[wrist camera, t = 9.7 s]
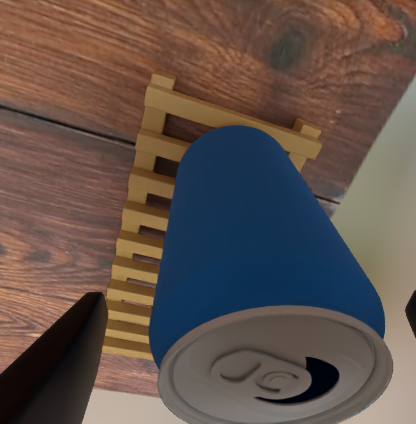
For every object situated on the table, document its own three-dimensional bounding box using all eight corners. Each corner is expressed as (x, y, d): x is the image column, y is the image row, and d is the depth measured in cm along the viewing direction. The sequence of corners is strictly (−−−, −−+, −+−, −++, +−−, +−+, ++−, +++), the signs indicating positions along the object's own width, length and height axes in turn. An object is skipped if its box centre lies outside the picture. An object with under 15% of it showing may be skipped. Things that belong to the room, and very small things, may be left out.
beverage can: (247, 235, 20) (294, 459, 9) (159, 194, 18) (101, 414, 8) (310, 156, 17) (477, 358, 6) (212, 97, 15) (231, 248, 5)
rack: (155, 69, 16) (148, 75, 14) (313, 123, 18) (328, 135, 16) (103, 327, 29) (95, 351, 26) (200, 345, 30) (200, 368, 28)
